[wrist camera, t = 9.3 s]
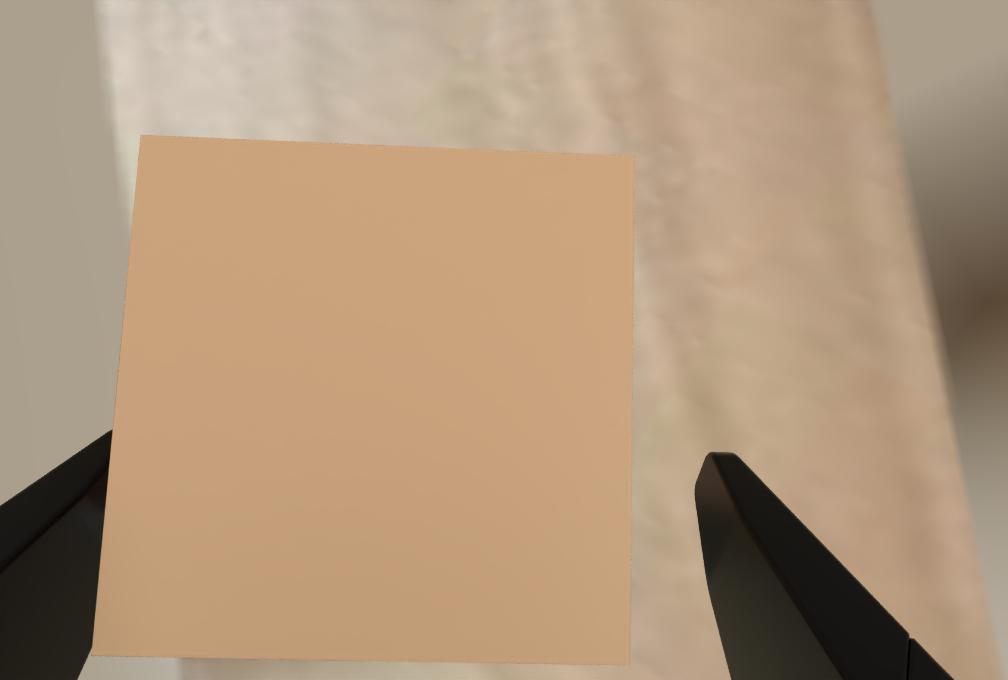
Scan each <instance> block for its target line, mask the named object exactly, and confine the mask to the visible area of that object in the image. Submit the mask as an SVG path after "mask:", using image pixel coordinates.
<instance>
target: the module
mask: <svg viewBox="0 0 1008 680" xmlns="http://www.w3.org/2000/svg"><path fill="white" fill-rule="evenodd" d="M634 174H635V156H620V155H596V154H573V153H549V152H526V151H503V150H479V149H456V148H433V147H409V146H386V145H363V144H339V143H316V142H293V141H269V140H246V139H222V138H199V137H176V136H152V135H141V137H140V148H139V158H138V169H137V180H136V190H135V201H134V211H133V222H132V232H131V243H130V253H129V264H128V276H127V285H126V296H125V306H124V317H123V327H122V338H121V349H120V359H119V369H118V380H117V391H116V401H115V412H114V422H113V433H112V443H111V454H110V464H109V475H108V486H107V496H106V507H105V517H104V528H103V538H102V549H101V559H100V570H99V580H98V591H97V602H96V612H95V623H94V633H93V644H92V654H91V656H126V657H181V658H236V659H291V660H347V661H402V662H457V663H513V664H568V665H623V666H630V625H631V512H632V400H633V287H634Z"/></svg>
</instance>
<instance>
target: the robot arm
mask: <svg viewBox="0 0 1008 680" xmlns="http://www.w3.org/2000/svg"><path fill="white" fill-rule="evenodd" d="M112 433H113V430H110V431H109V432H107V433H105V434H104V435H103V436H101V437H100V438H98V439H97V440H95V441H94V442H92V443H91V444H89V445H88V446H87V447H85V448H84V449H82V450H81V451H79V452H78V453H76V454H75V455H73V456H72V457H71V458H69V459H68V460H66V461H65V462H63V463H62V464H60V465H59V466H57V467H56V468H55V469H53V470H52V471H50V472H49V473H47V474H46V475H44V476H43V477H42V478H40V479H39V480H37V481H36V482H34V483H33V484H31V485H30V486H28V487H27V488H26V489H24V490H23V491H21V492H20V493H18V494H17V495H15V496H14V497H13V498H11V499H9V500H8V501H7V502H5V503H4V504H2V505H1V506H0V680H77V679H78V677H79V675H80V672H81V670H82V668H83V666H84V664H85V662H86V659H87V657H88V655H89V653H90V651H91V648H92V644H93V633H94V623H95V612H96V602H97V591H98V580H99V570H100V559H101V549H102V538H103V528H104V517H105V507H106V496H107V486H108V475H109V464H110V454H111V443H112ZM695 502H696V510H697V517H698V524H699V531H700V538H701V545H702V552H703V560H704V567H705V574H706V580H707V586H708V590H709V595H710V599H711V603H712V607H713V611H714V615H715V618H716V622H717V626H718V630H719V634H720V638H721V642H722V646H723V649H724V653H725V657H726V661H727V665H728V669H729V673H730V677H731V680H954V679H953V678H952V677H951V676H950V675H949V674H948V673H947V672H946V671H945V670H944V669H943V668H942V667H941V666H940V665H939V664H938V663H937V662H936V661H935V660H934V659H933V658H932V657H931V656H930V655H929V654H928V652H927V651H926V650H925V649H924V648H923V647H922V646H921V645H920V644H919V643H918V642H917V641H916V640H915V639H913V638H910V636H909V633H908V632H907V631H906V630H905V629H904V628H903V627H902V626H901V625H900V624H899V623H898V622H897V621H896V620H895V619H894V617H893V616H892V615H891V614H890V613H889V612H888V611H887V610H886V609H885V608H884V607H883V606H882V605H881V604H880V603H879V602H878V601H877V600H876V599H875V598H874V597H873V596H872V595H871V594H870V593H869V592H868V590H867V589H866V588H865V587H864V586H863V585H862V584H861V583H860V582H859V581H858V580H857V579H856V578H855V577H854V576H853V575H852V574H851V573H850V572H849V571H848V570H847V569H846V568H845V567H844V566H843V565H842V564H841V562H840V561H839V560H838V559H837V558H836V557H835V556H834V555H833V554H832V553H831V552H830V551H829V550H828V549H827V548H826V547H825V546H824V545H823V544H822V543H821V542H820V541H819V540H818V539H817V538H816V537H815V535H814V534H813V533H812V532H811V531H810V530H809V529H808V528H807V527H806V526H805V525H804V524H803V523H802V522H801V521H800V520H799V519H798V518H797V517H796V516H795V515H794V514H793V513H792V512H791V511H790V510H789V509H788V507H787V506H786V505H785V504H784V503H783V502H782V501H781V500H780V499H779V498H778V497H777V496H776V495H775V494H774V493H773V492H772V491H771V490H770V489H769V488H768V487H767V486H766V485H765V484H764V483H763V482H762V480H761V479H760V478H759V477H758V476H757V475H756V474H755V473H754V472H753V471H752V470H751V469H750V468H749V467H748V466H747V465H746V464H745V463H744V462H743V461H742V460H741V459H740V458H739V457H738V456H737V455H736V454H734V453H730V452H710V453H709V454H708V455H707V456H706V458H705V460H704V463H703V465H702V468H701V471H700V473H699V476H698V479H697V481H696V485H695ZM909 638H910V639H909Z"/></svg>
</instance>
